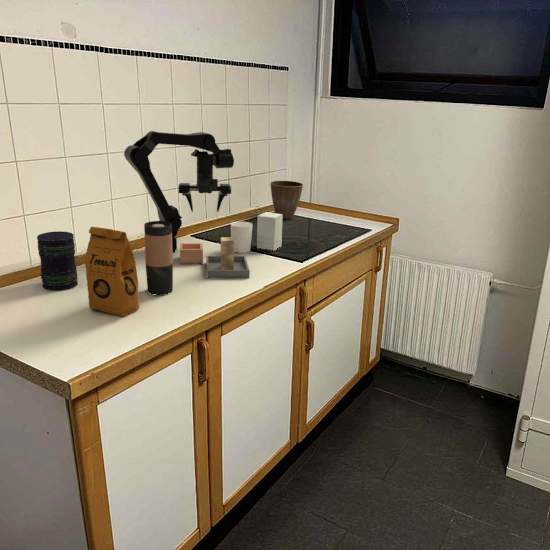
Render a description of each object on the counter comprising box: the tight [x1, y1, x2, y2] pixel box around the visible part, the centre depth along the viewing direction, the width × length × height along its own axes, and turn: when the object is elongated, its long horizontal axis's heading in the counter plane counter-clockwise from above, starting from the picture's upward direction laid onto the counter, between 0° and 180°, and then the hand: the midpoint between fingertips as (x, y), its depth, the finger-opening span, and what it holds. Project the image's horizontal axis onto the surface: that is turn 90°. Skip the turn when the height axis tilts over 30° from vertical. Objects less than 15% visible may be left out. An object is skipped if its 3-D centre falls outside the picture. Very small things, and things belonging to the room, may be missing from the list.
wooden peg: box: [220, 236, 235, 270], centre depth 173 cm, size 4×4×10 cm
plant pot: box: [269, 180, 304, 220], centre depth 246 cm, size 15×15×16 cm
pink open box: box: [179, 242, 204, 265], centre depth 182 cm, size 8×8×5 cm
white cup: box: [230, 221, 253, 254], centre depth 195 cm, size 8×8×10 cm
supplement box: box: [256, 211, 283, 252], centre depth 200 cm, size 7×7×13 cm
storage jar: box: [36, 230, 79, 292], centre depth 154 cm, size 10×10×15 cm
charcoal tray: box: [205, 255, 251, 279], centre depth 175 cm, size 13×15×2 cm
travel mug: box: [143, 220, 174, 296], centre depth 152 cm, size 8×8×20 cm
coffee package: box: [84, 226, 140, 318], centre depth 138 cm, size 10×12×22 cm
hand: (204, 211), depth 196 cm, fingers open, 9 cm apart
